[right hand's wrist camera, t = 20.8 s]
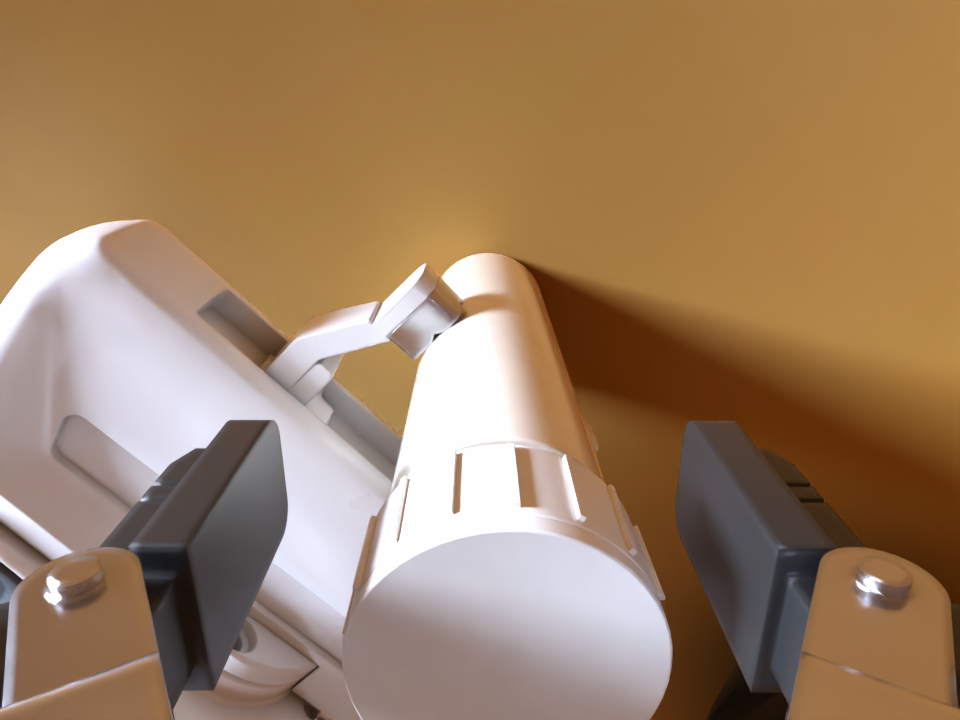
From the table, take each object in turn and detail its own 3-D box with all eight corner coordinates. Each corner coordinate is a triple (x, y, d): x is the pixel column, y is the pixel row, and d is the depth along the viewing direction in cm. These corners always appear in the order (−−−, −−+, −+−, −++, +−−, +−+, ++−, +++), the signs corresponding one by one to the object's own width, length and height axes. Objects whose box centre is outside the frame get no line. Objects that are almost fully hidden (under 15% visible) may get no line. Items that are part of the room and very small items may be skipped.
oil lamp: (1059, 768, 34) (1154, 875, 29) (667, 794, 34) (698, 905, 29) (1138, 516, 28) (1270, 598, 24) (672, 551, 29) (711, 638, 24)
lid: (591, 688, 12) (615, 810, 10) (342, 641, 12) (312, 758, 10) (678, 475, 10) (728, 566, 8) (394, 411, 10) (372, 493, 8)
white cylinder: (417, 271, 24) (321, 550, 9) (525, 238, 24) (609, 473, 9) (452, 370, 26) (418, 753, 11) (554, 340, 25) (670, 695, 10)
